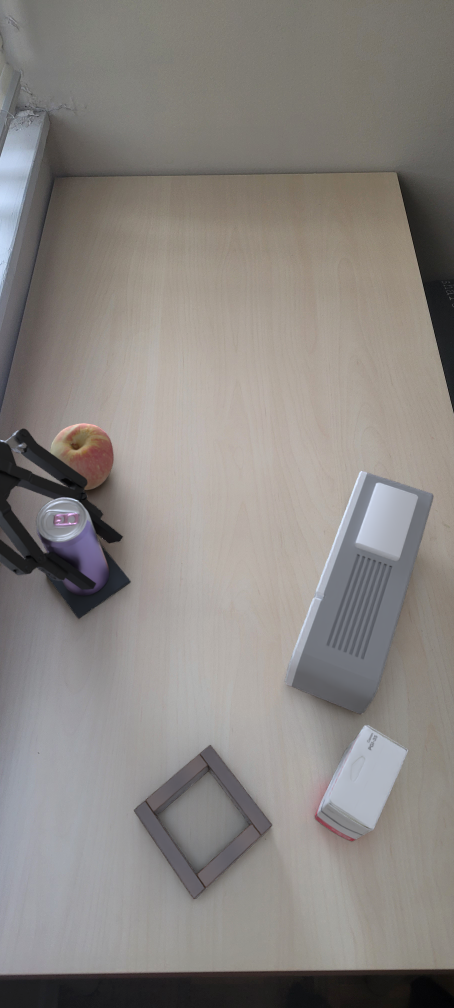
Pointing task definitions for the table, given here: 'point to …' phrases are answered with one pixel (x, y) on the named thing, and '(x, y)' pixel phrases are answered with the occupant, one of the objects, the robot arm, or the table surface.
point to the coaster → (89, 602)
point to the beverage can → (73, 541)
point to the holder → (179, 785)
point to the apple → (85, 452)
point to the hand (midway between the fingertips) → (102, 562)
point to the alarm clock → (360, 594)
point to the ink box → (361, 784)
